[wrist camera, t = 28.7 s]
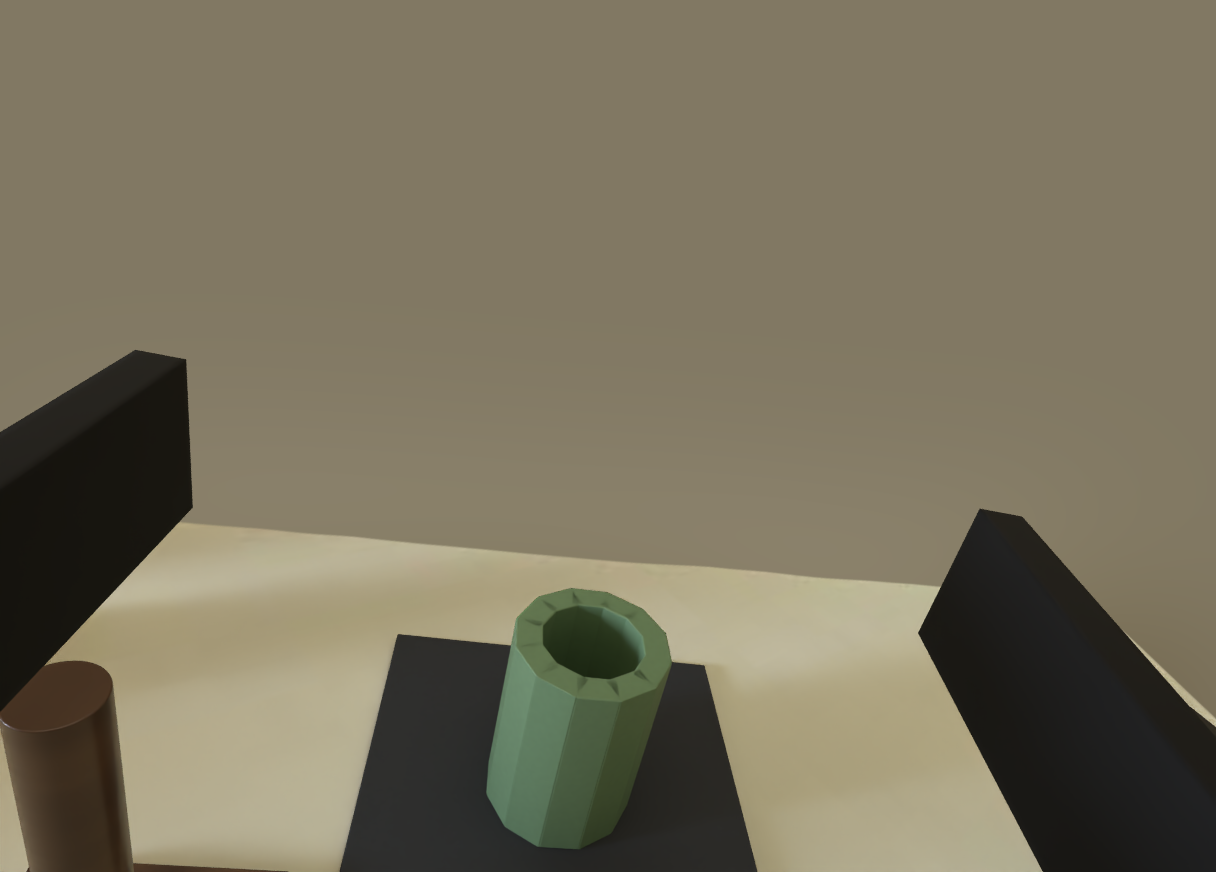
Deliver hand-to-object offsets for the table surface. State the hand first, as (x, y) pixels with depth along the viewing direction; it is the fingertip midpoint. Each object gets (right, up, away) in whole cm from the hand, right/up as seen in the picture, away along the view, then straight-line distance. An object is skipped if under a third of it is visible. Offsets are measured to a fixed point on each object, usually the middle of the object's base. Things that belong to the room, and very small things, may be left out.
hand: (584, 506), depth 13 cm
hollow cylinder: (-2, -17, +28) cm, 33 cm away
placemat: (-2, -18, +28) cm, 33 cm away
